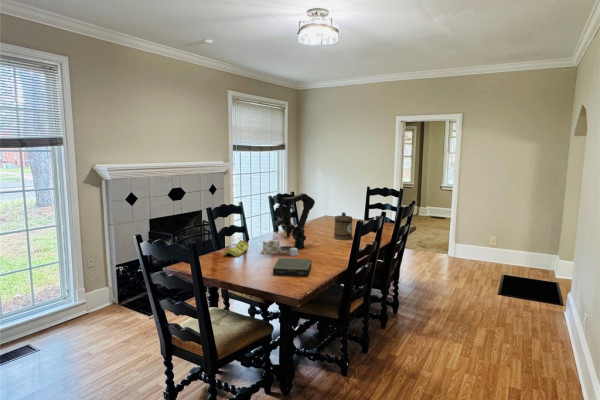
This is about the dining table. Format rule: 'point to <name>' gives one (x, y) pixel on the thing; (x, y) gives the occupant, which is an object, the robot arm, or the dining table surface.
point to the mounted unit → (274, 247)
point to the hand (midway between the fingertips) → (286, 236)
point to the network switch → (292, 267)
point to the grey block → (293, 251)
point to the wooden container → (343, 227)
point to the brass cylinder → (285, 234)
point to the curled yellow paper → (237, 249)
